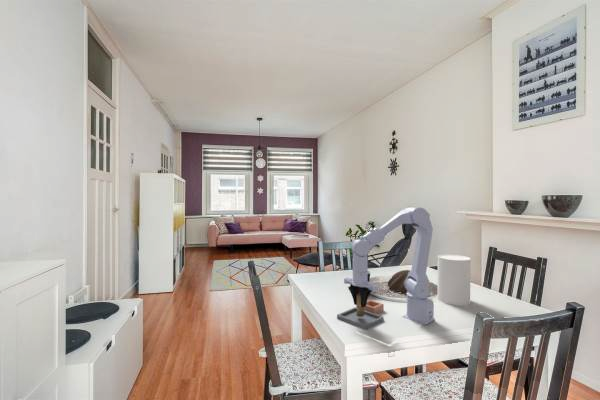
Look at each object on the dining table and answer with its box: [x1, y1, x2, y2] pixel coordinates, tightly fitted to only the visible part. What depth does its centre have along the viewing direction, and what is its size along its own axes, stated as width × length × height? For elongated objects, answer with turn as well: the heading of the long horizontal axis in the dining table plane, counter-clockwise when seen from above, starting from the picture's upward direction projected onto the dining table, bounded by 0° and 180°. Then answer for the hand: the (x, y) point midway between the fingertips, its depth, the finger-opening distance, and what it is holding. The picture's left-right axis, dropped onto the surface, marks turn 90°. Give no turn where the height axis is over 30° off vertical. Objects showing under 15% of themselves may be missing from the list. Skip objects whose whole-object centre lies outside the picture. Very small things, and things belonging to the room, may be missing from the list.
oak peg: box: [355, 294, 364, 317], centre depth 117 cm, size 3×3×8 cm
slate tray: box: [336, 306, 385, 330], centre depth 117 cm, size 14×12×2 cm
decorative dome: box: [387, 269, 411, 294], centre depth 155 cm, size 19×20×10 cm
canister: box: [436, 253, 472, 307], centre depth 138 cm, size 14×14×20 cm
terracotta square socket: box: [364, 299, 384, 315], centre depth 126 cm, size 7×7×3 cm
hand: (360, 305), depth 117 cm, fingers closed on oak peg, 3 cm apart
